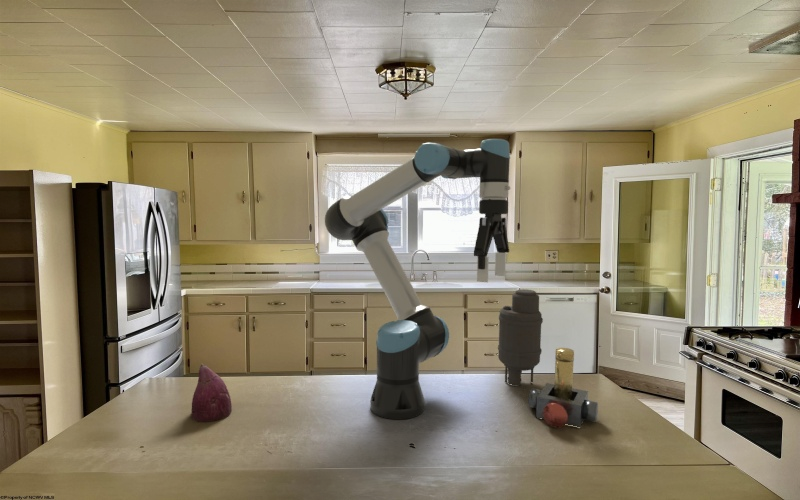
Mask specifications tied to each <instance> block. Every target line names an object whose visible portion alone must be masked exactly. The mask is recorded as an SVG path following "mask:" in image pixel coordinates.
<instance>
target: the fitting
mask: <svg viewBox="0 0 800 500" xmlns="http://www.w3.org/2000/svg"><path fill="white" fill-rule="evenodd" d="M574 358H575V350H573V349H572V348H568V347H557V348H555V358H554V359H555V363H554V365H555V367H554V385H555V387H554V397H558V398H562V399H567V400H572V388H573V382H574V380H573V379H574V378H573V377H574V361H575V359H574Z"/></svg>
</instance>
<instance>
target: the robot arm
mask: <svg viewBox="0 0 800 500" xmlns="http://www.w3.org/2000/svg"><path fill="white" fill-rule="evenodd" d="M510 153H511V152H510V143H509V141H508V140H506V139H502V138H488V139H484V140H482V141H481V142H480V147H479V148H475V149H458V148H454V147H451V146H447V145H443V144H441V143H438V142H425V143H422V144H421V145H420V146H419V147H418V149H417V150H416V151H415V154H414V157H412V158H411V159H409V160H407V161H405V162H404V163H403V164H401V165H399V166H397V167H396V168H394V169H393V170H391V171H390V172H388V173H387V174H385V175H383V176H381V177H380V178H378V179H377V180H375V181H373V182H372V183H370V184H369V185H367V186H366V187H364V188H362V189H360V191H357V192H356V193H354V194H353V195H351V196H350V195H346V196H342V197H341V198H340V199H338V200H337V201H335V202H334V203H333V204H332V205H331V206H329V207H328V208H327V211H326V213H325V217H324V225H325V227H326V230H327V232H328V233H329V235H331V237H333V238H335V239H338V240H340V241H351V242H353V245H354V246H355V248H356V250H357V251H359V252H361V253H362V252H363V254H364V255H365V257H366V259H367V262H368V264H369V265H370V267H371V269H372V271H373V272H374V275H375V277H376V279H377V281H378V283H379V284H380V286H381V289H382V290H383V292H384V294H385V296H386V297H387V299H388V302H389V304H390V306H391V307H392V310H393V312H394V314H395V316H396V317H397V320H392V321H388V322H386V323H384V324H383V325H381V326H380V327H379V328H378V330H377V333H376V334H377V335H376V336H377V337H376V343H375V344H376V382H375V385H374V388H373V391H372V394H371V397H370V404H369V405H370V411H371V412H372V413H373V414H374V415H376V416H379V417H380V418H384V419H389V420H405V419H406V420H407V419H411V418H415V417H418V416H419V415H421V414H422V413H423V412H424V411H425V402H426V401H425V397H424V393H423V390H422V387H421V384H420V377H419V376H420V375H419V374H420V364H421V363H423V362H425V361H427V360H429V359H431V358H434V357H436V356H438V355H440V353H442V352H444V350H445V349H446V348H447V346H448V345H449V344H448V343H449V341H450V331H449V327H448V325H447V323H446V321H445V320H444V319H443V318H441V317H439V316H437V315H434V312H432V310H431V308H430V306H427V305H424V304H423V303H422V302H421V300H420V298H419V295H418V294H417V292H416V291H415V289H414V287H413V285H412V283H411V281H410V279H409V277H408V276H407V273H406V272H405V270H404V268H403V266H402V264H401V263H400V260H399V258H398V257H397V255H396V254H395V251H394V250H393V247H392V246H391V244H390V242H389V240H388V239H389V236H390V232H389V231H388V230H389V225H388V224H389V219H388V215H387V213H386V212H385V210H384V208H386V207H388V206H389V205H391V204H393V203H395V202H396V201H398V200H400V199H401V198H404V197H405V196H406V195H409V194H411V193H412V192H415V190H417V189H419V188H421V187H422V186H424V185H426V184H427V183H429V182H431V181H433V180H435V179H436V178H438V177H440V176H441V178H443V179H450V180H451V179H452V180H455V179H466V178H467V179H468V178H469V179H470V178H479V195H478V198H480V199H481V200H479V203H478V204H479V205H478V206H479V208H478V212H479V214H480V215H484V217H483V216H482V217H480V218H479V223H478V230H477V234H476V238H475V245H474V249H473V256H474V257H477V258H476V259H477V260H476V262H477V266H476V268H477V269H476V282H479V283H488V282H489V263H490V262H489V258H490V257H489V256H488V253H489V251H490V248H491V244H492V242H494V245H495V248H496V252H495V258H494V259H495V261H494V262H495V266H494V276H498V277H505V276H506V260H507V259H506V258H507V257H506V256H507V254H506V253H508V254H509V253H510V247H509V239H508V232H507V222H506V221H507V219H506V217H502V215H508V213H509V200H507V199H508V198H509V191H510V190H511V186H510V185H509V182H510V178H509V177H510V159H511V156H510ZM492 240H493V241H492Z"/></svg>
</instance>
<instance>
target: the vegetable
mask: <svg viewBox="0 0 800 500" xmlns="http://www.w3.org/2000/svg"><path fill="white" fill-rule="evenodd" d="M194 389H195V390H194V392H193V395H192V401H191V412H190V413H191V419H192V418H193V420H194V421H196V422H199V423H200V422H201V423H207V422H208V423H209V422H216V421H219V420H222V419H225V418H228V417H229V416H230V415H231V413H232V410H233V409H232V407H233V406H232V399H231V396H230V392H229V390H228V388H227V385H226V383H225V381H224V380H223V379H222V377H221V376H219V375H218V374H217V373H216V372H214V371H213V370H212V369H211V368H209V367H208V366H207V365H205V364H204V363H201V365H200V366H199V370H198V380H197V384H196V387H195V388H194Z"/></svg>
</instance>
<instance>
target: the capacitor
mask: <svg viewBox="0 0 800 500" xmlns="http://www.w3.org/2000/svg"><path fill="white" fill-rule="evenodd" d="M511 297H512V298H511V305H510V306H509V305H504V306H503V307H502V308H501V309H500V310H499V315H498V320H499V325H498V326H499V327H498V345H497V350H498V353H497V354H498V358H497V359H498V360H499V361H500V362H501V363H502V364H503V366H504V367H505V369H504V383H505V382H507V384H508V383H509V384H512V385H520V384H522V372H523V371H524V372H525V371H530V383H531V382H533V383H534V369H535V367H536V366H538V365H540V362H541V354H542V348H541V341H542V339H541V337H542V324H543V322H544V319H543V316H542V312H541V311H540V295H539V294H538V293H537V291H535V290H532V289H517V290H516V291H515V292H513V294H512V296H511ZM509 384H508V385H509ZM520 386H521V385H520Z"/></svg>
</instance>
